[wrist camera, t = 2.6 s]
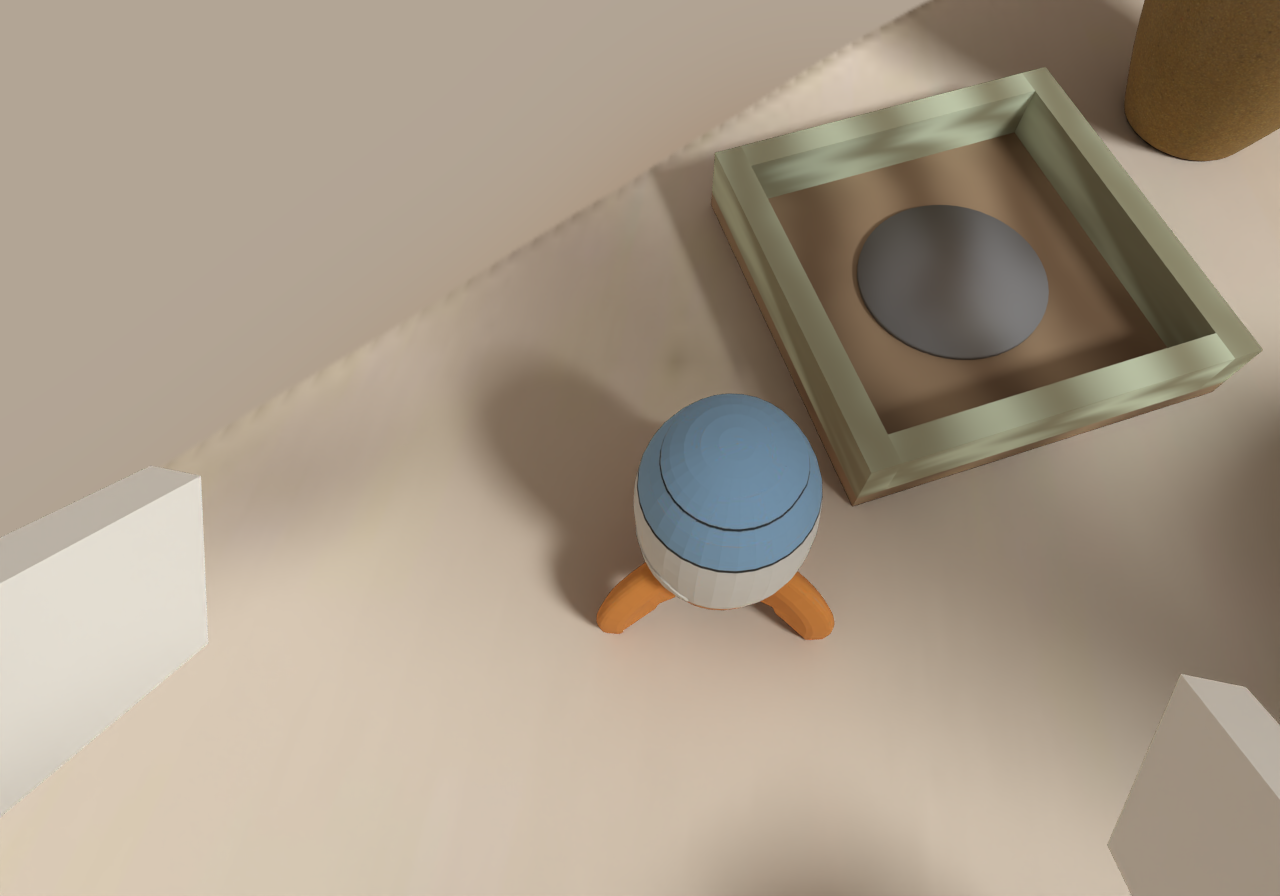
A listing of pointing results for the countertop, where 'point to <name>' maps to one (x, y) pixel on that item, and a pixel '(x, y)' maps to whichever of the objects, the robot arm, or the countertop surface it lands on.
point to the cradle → (967, 282)
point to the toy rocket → (725, 516)
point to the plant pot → (1205, 76)
